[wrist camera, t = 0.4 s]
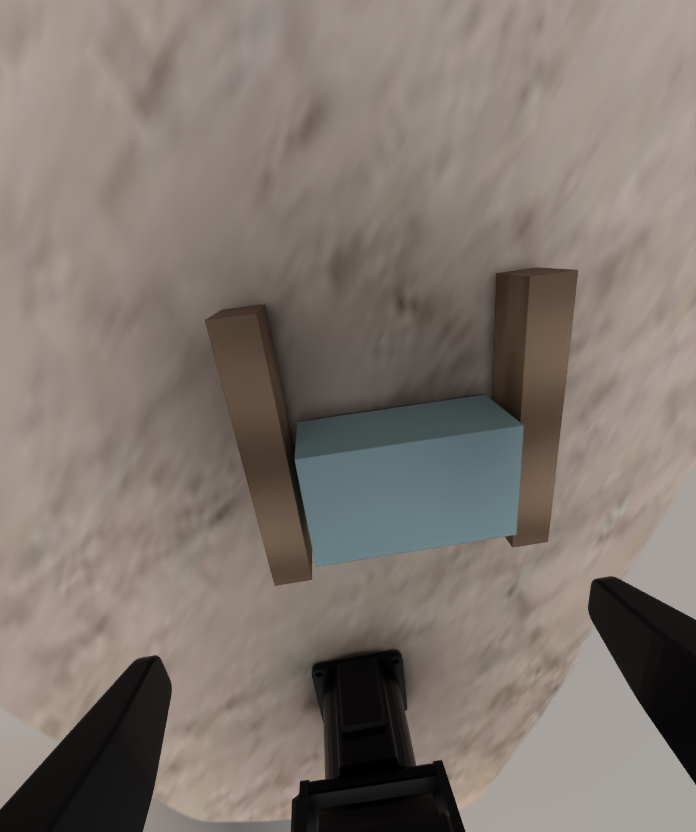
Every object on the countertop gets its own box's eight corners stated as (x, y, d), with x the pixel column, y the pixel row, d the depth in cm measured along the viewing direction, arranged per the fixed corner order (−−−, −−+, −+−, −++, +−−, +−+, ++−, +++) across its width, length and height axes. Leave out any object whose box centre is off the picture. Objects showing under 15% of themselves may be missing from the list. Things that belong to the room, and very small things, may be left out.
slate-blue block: (482, 489, 23) (516, 534, 19) (314, 515, 22) (315, 566, 19) (485, 394, 20) (523, 425, 17) (297, 421, 20) (294, 459, 16)
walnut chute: (520, 508, 24) (547, 541, 21) (278, 546, 23) (274, 585, 20) (537, 267, 18) (578, 270, 15) (221, 310, 18) (205, 320, 15)
